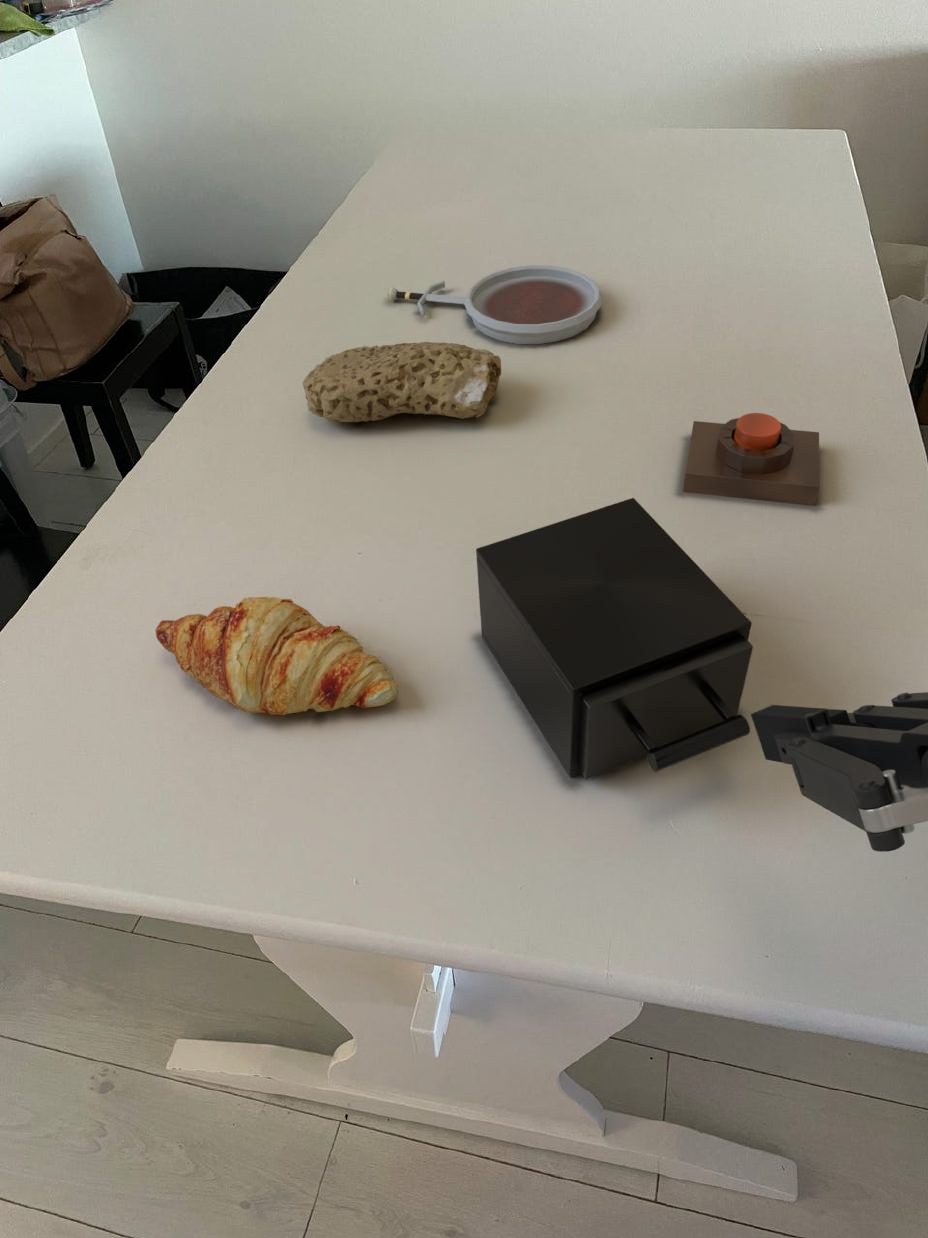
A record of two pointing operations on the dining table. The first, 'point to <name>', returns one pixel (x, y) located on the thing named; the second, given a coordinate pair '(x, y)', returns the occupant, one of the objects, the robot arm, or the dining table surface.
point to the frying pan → (524, 303)
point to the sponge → (403, 382)
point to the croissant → (276, 659)
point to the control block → (753, 465)
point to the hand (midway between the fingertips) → (769, 732)
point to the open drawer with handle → (666, 710)
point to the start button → (757, 431)
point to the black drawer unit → (593, 611)
